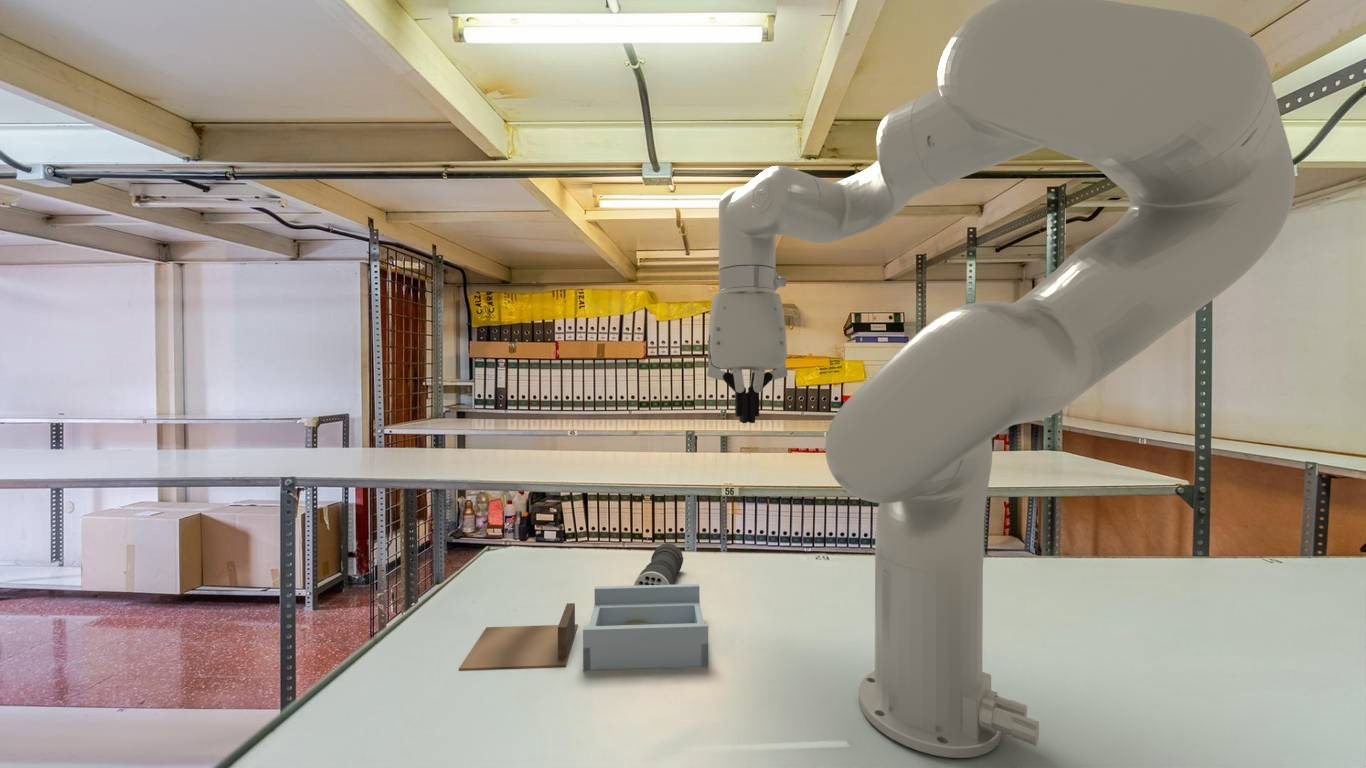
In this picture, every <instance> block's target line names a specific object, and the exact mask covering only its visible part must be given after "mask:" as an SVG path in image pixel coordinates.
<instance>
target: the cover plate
mask: <svg viewBox="0 0 1366 768" xmlns="http://www.w3.org/2000/svg"><path fill="white" fill-rule="evenodd" d="M575 611H576V604H575V602H571V603H567V602H566V605H565V607H564V610H563V613H562V615H561V618H560V621H559V623H558V624H551V625H548V624H547V625H545V624H544V625H519V626H518V625H517V626H516V625H513V626H488V627H485V629H483V631H482V633H481V634H480V636H479V638H478V639H477V641H476V642H475V644H474V645H473V646H472V648H471V650H470V651H469V653H468V654H467V655H466V657H465V658H464V660H463V662H462V663H461V664H460V666H459V667H458V671H481V670H482V671H483V670H485V671H486V670H510V669H511V670H512V669H513V670H514V669H540V668H541V669H542V668H566V667H567V664H568V660H569V657H570V654H571V651H572V648H573V644H574V641H575V637H576V634H577V631H578V628H579V624H576V612H575Z"/></svg>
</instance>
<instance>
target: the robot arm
mask: <svg viewBox="0 0 1366 768" xmlns="http://www.w3.org/2000/svg"><path fill="white" fill-rule="evenodd" d="M936 75H937V76H936V79H937V87H935V88H934V89H931V90H929V91H927V92H926V93H924V94H922V95H920V96H918V97H916V98H914V99H912V100H910V101H908V102H906V103H904V104H902V105H900V106H899V107H896V108H894V109H892V110H890V111H889V112H888V113H887V114H886V115H885V116H884V117H883V119H882V120H881V121H880V123H879V126H878V128H877V131H876V138H875V139H876V140H875V141H876V142H875V149H876V152H875V153H876V157H877V160H876V162H874V163H873V164H872V165H870V166H868V167H867V168H865V169H863V170H861V171H860V172H857V173H855V174H853V175H850V176H848V177H846V178H843V179H841V180H838V181H836V182H830V181H827V180H825V179H823V178H821V177H818V176H814V175H812V174H809V173H807V172H803V171H802V170H798V169H795V168H794V167H792V166H791V167H790V166H786V165H774V166H773V165H772V166H770V167H769V168H767V169H764V170H763V171H761V172H760V173H759V174H758V175H757V174H756V176H755V177H753V178H752V179H751V180H750V181H749V182H748V183H746V184H744V185H743V186H739V187H735V188H731V189H729V190H727V191H726V192H724V193H723V194H722V195H721V197H720V199H719V202H718V293H717V294H714V295H713V296H712V301H711V304H710V305H711V306H710V314H709V323H708V325H709V326H708V337H707V340H708V341H707V342H708V343H707V344H708V345H707V358H708V366H707V372H706V375H707V377H708V378H711V379H715V380H719V381H723V382H725V384H727V385H728V387H730V389H732V391H733V392H734V395H735V396H734V410H735V411H734V413H735V417H739V422H740V423H742V424H747V423H749V424H755V423H756V417H759V416H760V393H761V392H762V391H763V389H764V388H765V387H767V385H768V384H769V383H770V382H771V381H775V380H778V379H779V380H780V379H782V378H786V377H787V376H788V369H787V366H786V363H787V356H788V349H787V348H788V346H787V342H788V341H787V332H786V331H787V330H786V323H785V322H786V321H785V313H784V308H783V303H782V301H783V300H782V297H781V294H780V293H776V291H777V289H779V288H781V287H782V288H783V287H784V288H786V286H787V276H781V275H779V274H778V270H776V235H778V236H783V237H784V236H785V237H790V238H795V239H798V240H802V241H806V242H809V243H813V244H829V243H832V242H833V243H834V242H836V241H841V240H844V239H846V238H849V237H853V236H855V235H859V234H861V233H862V234H863V233H864V232H867V231H870V230H872V229H874V228H877V227H879V226H882V225H883V224H884V223H886V222H888V221H889V220H890V219H892V218H893V217H894V216H895V215H896V214H898V213H899V212H900V211H902V209H904V208H905V207H906V206H907V205H908V204H909V203H910V202H911V200H912V199H914V197H916V196H918V195H920V194H922V193H926V192H929V191H931V190H934V189H935V188H938V187H941V186H943V185H946V184H949V183H951V182H954V181H957V180H960V179H962V178H965V177H967V176H970V175H972V174H975V173H979V172H981V171H983V170H986V169H989V168H991V167H995V166H997V165H1000V164H1003V163H1006V162H1008V161H1010V160H1013V159H1016V158H1018V157H1021V156H1024V155H1027V154H1030V153H1032V152H1035V151H1037V150H1040V149H1043V148H1047V149H1050V150H1052V151H1055V152H1058V153H1059V154H1063V155H1066V156H1068V157H1071V158H1074V159H1076V160H1079V161H1081V162H1082V163H1086V164H1087V165H1090V166H1093V167H1094V168H1096V169H1098V171H1100V172H1101V173H1102V174H1104V175H1105V176H1106V177H1107V178H1108V179H1109V180H1110V181H1111V182H1113V184H1115V185H1116V186H1117V187H1119V188H1121V190H1123V191H1124V192H1125V194H1126V195H1127V197H1128V198H1129V206H1128V208H1127V210H1126V212H1125V213H1124V214H1123V216H1122V217H1121V218H1120V219H1119V220H1118V221H1117V222H1116V223H1114V224H1113V225H1111V226H1110V227H1109V228H1108V229H1107V230H1104V231H1103V232H1101V233H1100V234H1099V235H1097V236H1096V237H1094V238H1093V239H1091V240H1089V241H1088V242H1087V243H1085V244H1084V245H1082V246H1080V248H1078V249H1077V250H1076V251H1075V252H1073V253H1072V254H1070V255H1069V256H1068V257H1067V258H1066V259H1065V260H1064V261H1063V262H1062V263H1061V264H1060V265H1059V266H1057V268H1056V269H1055V270H1054V271H1053V272H1052V273H1050V274H1049V275H1048V276H1047V277H1045V279H1043V280H1042V281H1041V282H1039V283H1038V284H1037V285H1036V286H1034V287H1033V288H1032V289H1031V290H1030V291H1028V292H1027V293H1026V294H1024V295H1023V296H1022V297H1020V298H1019V299H1017V300H1016V301H1014V302H1013V303H1011V302H1010V303H1009V302H1004V301H980V302H979V301H978V302H973V303H968V304H964V305H961V306H959V307H957V308H953V309H951V310H950V311H948V312H945V313H944V314H941V315H940V316H939V317H937V318H935V319H933V320H932V321H930V323H928V324H927V325H925V326H924V327H923V328H922V329H920V330H919V331H918V332H917V333H916V334H915V335H914V336H912V338H911V339H909V340H908V341H907V342H906V343H905V344H904V345H903V346H902V347H901V348H900V349H898V351H897V352H895V354H894V355H892V356H891V357H890V358H889V359H888V360H887V361H886V362H885V363H883V365H882V366H881V367H880V368H879V369H878V370H877V371H876V372H875V373H874V374H873V375H872V376H871V377H870V378H868V380H866V381H865V382H864V383H863V384H862V385H861V386H860V387H859V388H858V389H857V390H856V391H855V392H854V393H853V394H852V395H851V396H850V397H849V398H848V399H847V400H845V402H844V403H843V404H842V405H841V407H840V408H839V409H838V410H837V412H836V414H835V415H834V416H833V418H832V420H831V422H830V424H829V427H828V429H827V433H826V437H825V459H826V462H827V466H828V468H829V471H830V473H831V475H832V477H833V478H834V480H835V481H836V482H837V484H838V485H839V486H840V487H842V488H843V490H845V491H846V492H847V493H849V494H850V495H852V496H854V497H856V498H858V499H861V500H864V501H867V502H871V503H877V504H878V508H877V515H876V520H875V521H876V523H875V539H874V540H875V541H874V543H875V544H874V545H875V548H874V549H875V551H874V671H870V673H869V674H867V675H865V676H864V677H863V679H861V681H860V684H859V685H858V703H859V707H860V710H861V711H862V713H863V715H864V716H865V717H866V719H867V720H868V721H869V722H870V723H871V724H872V725H873V726H874V727H875V728H876V729H877V730H879V732H881V733H882V734H884V735H885V736H887V737H888V738H890V739H891V740H894V741H895V742H897V743H899V744H901V745H903V746H905V747H907V748H910V749H913V750H915V751H917V752H921V753H925V754H928V755H933V756H936V757H937V756H938V757H943V758H950V759H951V758H952V759H954V758H955V759H966V758H968V759H969V758H975V757H979V756H982V755H983V756H984V755H985V754H988V753H989V752H991V751H993V750H995V748H997V746H998V745H999V744H1000V741H1001V738H1002V733H1003V734H1006V735H1010V736H1011V738H1014V739H1016V740H1019V741H1022V742H1024V743H1026V744H1028V745H1031V746H1034V747H1037V746H1038V743H1039V735H1040V723H1039V721H1038V720H1036V719H1033V718H1030V717H1028V706H1027V704H1025V703H1024V704H1023V703H1021V702H1019V701H1016V700H1013V699H1007V698H1005V697H1002V696H1000V695H998V692H997V691H994V690H992V674H990V673H987V672H984V671H983V647H984V646H983V637H984V635H983V631H984V629H983V627H984V626H983V624H984V623H983V622H984V621H983V619H984V618H983V617H984V616H983V615H984V613H983V612H984V611H983V609H984V608H983V607H984V601H983V598H984V597H983V595H984V594H983V593H984V588H983V587H984V586H983V585H984V540H985V539H984V538H985V537H984V536H985V534H984V533H985V532H984V531H985V516H986V515H985V514H986V504H987V495H988V489H989V485H990V478H991V473H992V471H991V470H992V463H993V442H992V439H994V437H996V436H997V435H999V434H1000V433H1002V432H1003V431H1005V430H1007V429H1008V428H1010V427H1012V426H1015V425H1018V424H1019V425H1020V424H1026V423H1031V422H1037V421H1041V420H1043V419H1046V418H1049V417H1051V416H1053V415H1056V414H1058V413H1060V412H1061V411H1062V410H1063V409H1065V408H1067V407H1068V406H1069V405H1070V404H1071V403H1072V402H1073V401H1075V400H1076V399H1077V398H1079V397H1081V396H1082V395H1083V394H1084V393H1086V392H1087V391H1088V390H1090V389H1091V388H1092V387H1094V385H1096V384H1097V383H1099V382H1100V381H1102V380H1103V379H1106V377H1108V376H1109V375H1110V374H1112V373H1114V372H1115V371H1116V370H1118V369H1119V368H1120V367H1122V366H1123V365H1125V364H1127V362H1129V361H1130V360H1132V359H1134V358H1135V357H1136V356H1137V355H1139V354H1140V353H1142V352H1143V351H1145V350H1146V349H1148V348H1149V347H1150V346H1151V345H1153V344H1154V343H1155V342H1157V341H1158V340H1159V339H1161V338H1162V337H1163V336H1165V335H1166V334H1167V333H1168V332H1170V331H1171V330H1172V329H1174V328H1176V327H1177V326H1179V324H1181V323H1182V322H1184V321H1185V320H1186V319H1188V318H1189V317H1191V316H1192V315H1193V314H1195V313H1196V312H1198V311H1199V310H1200V309H1203V307H1204V306H1206V305H1208V304H1209V303H1211V302H1212V301H1213V300H1214V299H1215V298H1217V297H1218V296H1219V295H1221V294H1222V293H1223V292H1225V291H1226V290H1227V289H1229V288H1230V287H1231V286H1232V285H1233V284H1235V283H1236V282H1237V281H1238V280H1240V279H1241V278H1242V277H1243V276H1244V275H1245V274H1247V273H1248V271H1250V270H1251V269H1252V268H1253V267H1254V266H1255V265H1256V264H1257V262H1258V261H1259V260H1260V259H1261V258H1262V257H1263V256H1264V255H1265V254H1266V253H1267V251H1268V250H1269V249H1270V248H1271V246H1272V244H1273V243H1275V241H1276V239H1277V238H1278V235H1280V232H1281V231H1282V229H1283V226H1284V225H1285V223H1286V221H1287V219H1288V216H1289V213H1290V211H1291V208H1292V205H1293V201H1294V196H1295V189H1296V174H1295V173H1296V172H1295V166H1294V165H1295V164H1294V161H1293V160H1294V159H1293V156H1292V152H1291V148H1290V143H1289V140H1288V137H1287V134H1286V130H1285V127H1284V124H1283V120H1282V116H1281V113H1280V108H1279V102H1278V100H1277V95H1276V93H1275V91H1274V86H1273V82H1272V76H1271V71H1270V69H1269V63H1268V62H1267V60H1266V57H1265V54H1264V52H1263V50H1262V48H1261V47H1260V46H1259V45H1258V44H1257V42H1256V41H1254V39H1253V37H1251V36H1250V34H1248V33H1247V32H1246V31H1244V30H1242V29H1241V28H1238V27H1237V26H1235V25H1233V24H1231V23H1230V22H1227V21H1225V20H1222V19H1219V18H1215V17H1212V16H1208V15H1202V14H1199V13H1192V12H1187V11H1182V10H1177V9H1174V10H1173V9H1169V8H1161V7H1153V6H1146V5H1140V4H1133V3H1132V4H1131V3H1126V2H1118V1H1113V0H996V1H994V2H992V3H990V4H989V5H987V6H985V7H982V8H981V9H980V10H979V11H977V12H976V13H975V14H974V15H972V16H971V17H970V18H969V19H968V20H966V21H965V22H964V23H963V24H962V25H961V26H960V27H959V28H958V29H957V30H956V32H955V33H954V34H953V36H952V37H951V38H950V39H949V41H948V42H947V45H946V47H945V49H944V50H943V52H942V55H941V57H940V61H939V64H938V67H937V74H936ZM724 370H729V371H724ZM743 370H751V376H750V380H749V381H750V382H749V387H747V388H746V387H745V384H744V383H745V382H744V375H743ZM766 370H769V371H766Z"/></svg>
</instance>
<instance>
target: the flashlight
mask: <svg viewBox="0 0 1366 768" xmlns="http://www.w3.org/2000/svg"><path fill="white" fill-rule="evenodd" d="M683 555H684V554H683V552H682V550H681V549H680V548H679V547H678V546H677V545H675V544H674V543H667V542H666V543H661V545H659V546H657V547H656V549H655V550H654V552H653V553H652V556H651V557H650V558H651V560H650V563H648V564H647V565H646V566H645V568H644V569H643V570H641V572H640V573H639V575H638V577H637V578H636V580H635V582H634V584H633V586H638V585H675V581H676V575H678V574H679V572H681V569H682V566H683V563H684V557H683ZM659 579H660V580H659Z"/></svg>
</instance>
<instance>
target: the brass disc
mask: <svg viewBox="0 0 1366 768" xmlns="http://www.w3.org/2000/svg"><path fill="white" fill-rule="evenodd" d="M622 625H650V624H649V623H647V622H643V621H631V622H627V623H624V624H622Z"/></svg>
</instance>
